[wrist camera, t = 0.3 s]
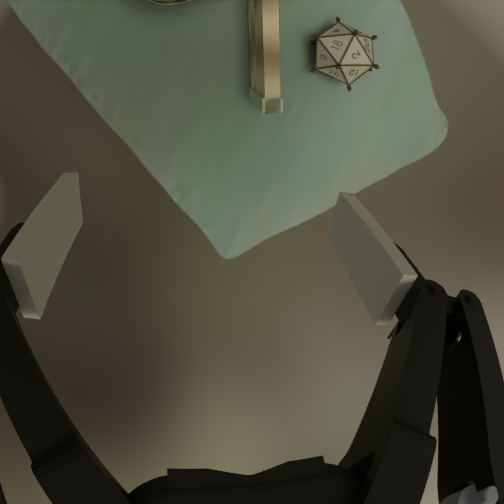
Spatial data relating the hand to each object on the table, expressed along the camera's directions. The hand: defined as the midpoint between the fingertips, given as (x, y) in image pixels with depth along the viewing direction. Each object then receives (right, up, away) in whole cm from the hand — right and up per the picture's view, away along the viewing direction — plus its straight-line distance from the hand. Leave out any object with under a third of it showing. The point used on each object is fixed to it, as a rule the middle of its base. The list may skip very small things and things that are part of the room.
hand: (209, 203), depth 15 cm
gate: (+3, +22, +17) cm, 28 cm away
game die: (+12, +24, +19) cm, 33 cm away
